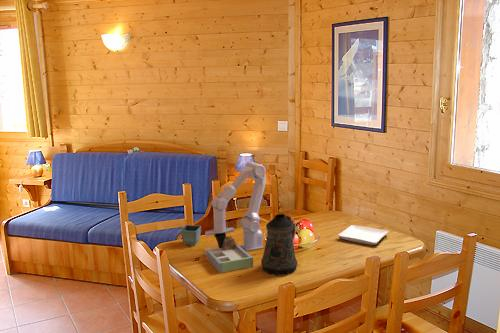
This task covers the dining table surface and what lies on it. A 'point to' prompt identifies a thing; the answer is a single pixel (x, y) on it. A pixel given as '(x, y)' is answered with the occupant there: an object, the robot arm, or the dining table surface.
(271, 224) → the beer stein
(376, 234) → the salad plate
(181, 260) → the dining table surface
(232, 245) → the walnut block
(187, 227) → the flower pot
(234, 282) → the dining table surface
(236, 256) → the tray
